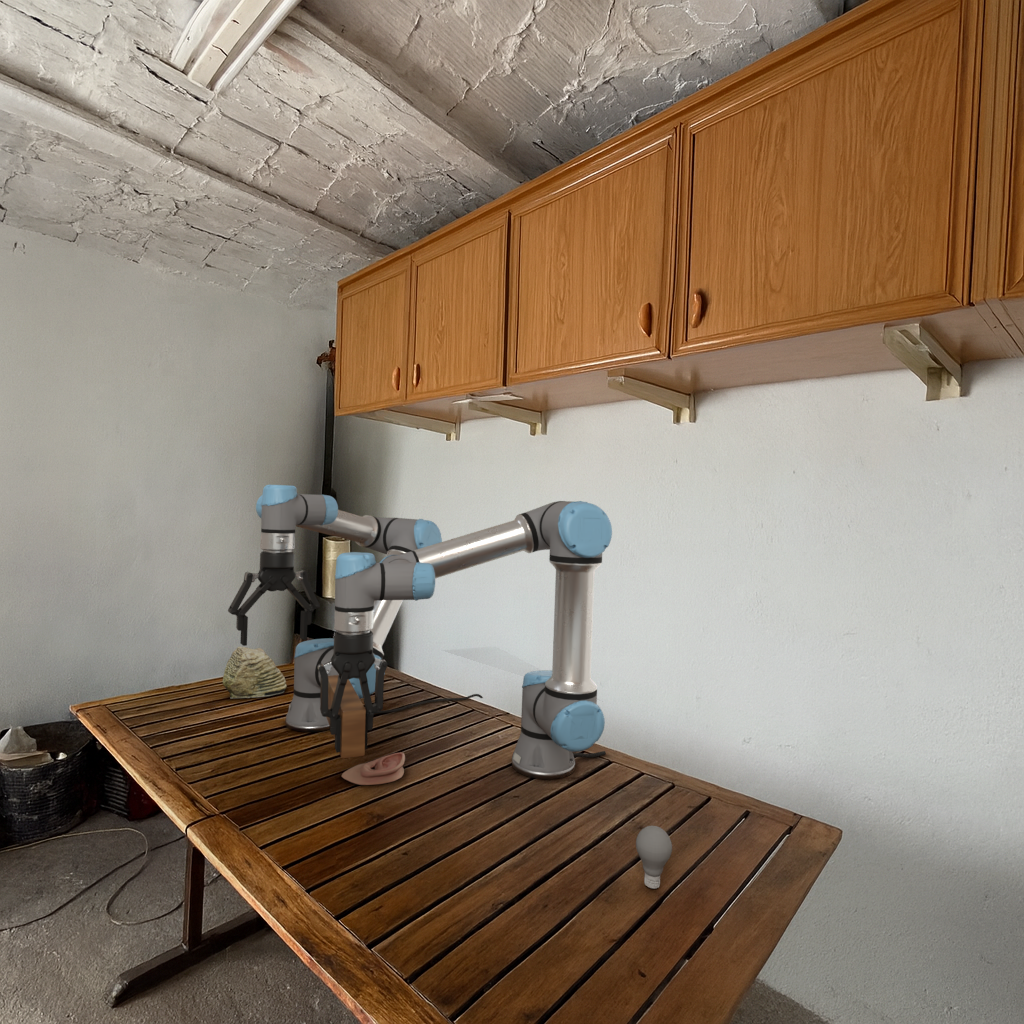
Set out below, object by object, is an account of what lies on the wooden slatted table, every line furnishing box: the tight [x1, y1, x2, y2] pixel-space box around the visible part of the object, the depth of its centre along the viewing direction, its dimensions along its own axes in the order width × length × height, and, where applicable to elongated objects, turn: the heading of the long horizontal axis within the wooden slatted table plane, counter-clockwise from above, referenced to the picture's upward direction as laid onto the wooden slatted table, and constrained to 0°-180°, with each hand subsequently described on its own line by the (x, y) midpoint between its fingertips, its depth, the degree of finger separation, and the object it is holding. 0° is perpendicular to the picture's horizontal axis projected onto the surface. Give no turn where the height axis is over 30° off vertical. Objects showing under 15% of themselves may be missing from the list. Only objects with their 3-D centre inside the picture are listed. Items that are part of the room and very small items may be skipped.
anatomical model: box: [341, 751, 406, 786], centre depth 145 cm, size 13×4×12 cm
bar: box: [326, 675, 366, 760], centre depth 134 cm, size 25×4×9 cm, turn 23°
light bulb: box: [635, 825, 673, 889], centre depth 107 cm, size 6×6×10 cm
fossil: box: [222, 646, 288, 699], centre depth 198 cm, size 9×18×15 cm, turn 132°
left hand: (274, 641), depth 148 cm, fingers open, 13 cm apart
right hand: (350, 747), depth 126 cm, fingers closed on bar, 4 cm apart
